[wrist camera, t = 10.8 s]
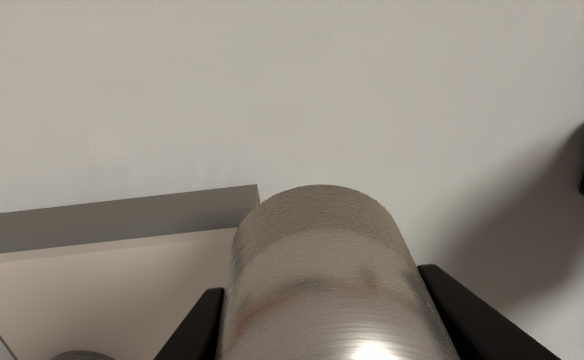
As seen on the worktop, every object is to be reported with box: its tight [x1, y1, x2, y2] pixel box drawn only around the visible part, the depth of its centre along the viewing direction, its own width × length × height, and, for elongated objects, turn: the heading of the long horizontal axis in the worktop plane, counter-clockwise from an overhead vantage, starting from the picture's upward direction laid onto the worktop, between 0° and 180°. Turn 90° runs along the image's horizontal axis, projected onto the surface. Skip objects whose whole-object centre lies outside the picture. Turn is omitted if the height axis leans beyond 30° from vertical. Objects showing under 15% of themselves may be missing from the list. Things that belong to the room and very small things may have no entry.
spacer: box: [214, 185, 460, 360], centre depth 8 cm, size 4×4×5 cm
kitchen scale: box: [0, 184, 260, 360], centre depth 21 cm, size 15×15×3 cm
